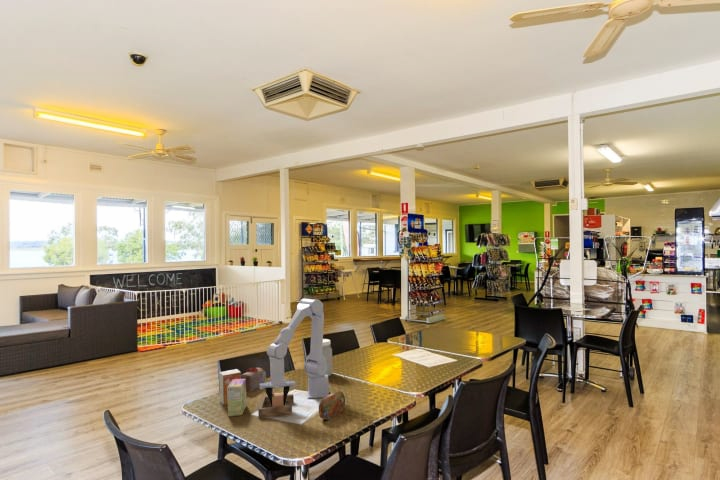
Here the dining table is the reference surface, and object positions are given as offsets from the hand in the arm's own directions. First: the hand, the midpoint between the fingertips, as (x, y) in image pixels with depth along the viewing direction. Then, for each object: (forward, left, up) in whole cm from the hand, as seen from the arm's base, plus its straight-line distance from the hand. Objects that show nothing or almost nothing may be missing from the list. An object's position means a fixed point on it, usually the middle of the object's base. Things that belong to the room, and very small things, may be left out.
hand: (278, 405), depth 172 cm
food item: (+15, -30, -2) cm, 33 cm away
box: (+17, -2, -2) cm, 17 cm away
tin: (-22, +10, -2) cm, 24 cm away
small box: (+22, -14, -2) cm, 26 cm away
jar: (-20, -43, -2) cm, 47 cm away
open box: (0, 0, -2) cm, 2 cm away
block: (0, 0, -2) cm, 2 cm away
